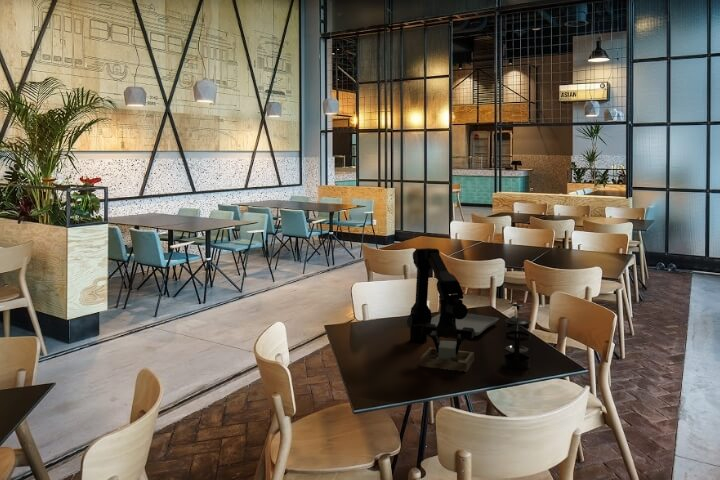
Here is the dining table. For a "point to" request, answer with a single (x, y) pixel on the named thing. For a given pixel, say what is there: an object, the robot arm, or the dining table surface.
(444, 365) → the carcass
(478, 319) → the square plate
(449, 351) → the grey faceted block
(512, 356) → the french press
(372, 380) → the dining table surface
